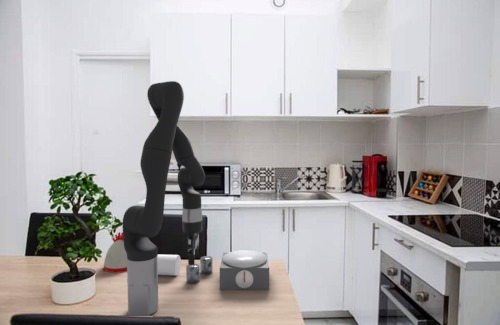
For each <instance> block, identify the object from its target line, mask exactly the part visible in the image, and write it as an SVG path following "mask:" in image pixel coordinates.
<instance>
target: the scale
mask: <svg viewBox="0 0 500 325" xmlns="http://www.w3.org/2000/svg"><path fill="white" fill-rule="evenodd" d="M219 290H222V291H223V290H227V291H229V290H230V291H231V290H233V291H234V290H235V291H236V290H239V291H240V290H242V291H243V290H247V291H248V290H250V291H251V290H257V291H258V290H260V291H261V290H262V291H263V290H264V291H265V290H268V291H269V290H270V264H269V258H268V253H267V252H260V251H256V250H249V249H248V250H247V249H246V250H245V249H244V250H243V249H242V250H235V251H234V250H233V251H229V252H223V253H222V258H221V261H220V263H219Z"/></svg>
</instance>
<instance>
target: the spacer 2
mask: <svg viewBox="0 0 500 325" xmlns="http://www.w3.org/2000/svg"><path fill="white" fill-rule="evenodd" d="M199 260H200V261H199V262H200V264H199V268H200V275H205V276H206V275H207V276H208V275H210V274H213V272H214V271H213V268H214V266H213V257H212V256H209V255H204V256H201V257H200V258H199Z"/></svg>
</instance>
